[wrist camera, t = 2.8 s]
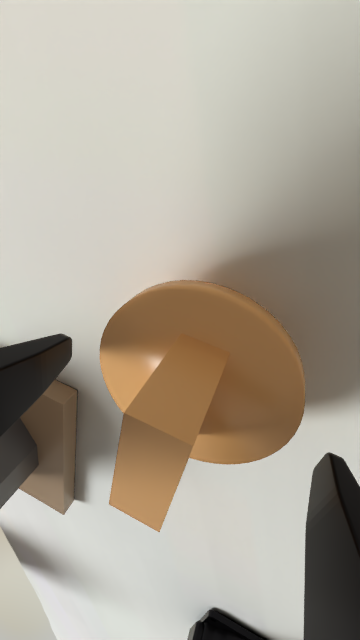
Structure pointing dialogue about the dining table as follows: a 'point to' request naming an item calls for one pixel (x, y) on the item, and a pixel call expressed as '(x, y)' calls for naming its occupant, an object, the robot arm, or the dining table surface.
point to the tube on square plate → (42, 450)
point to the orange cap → (195, 388)
